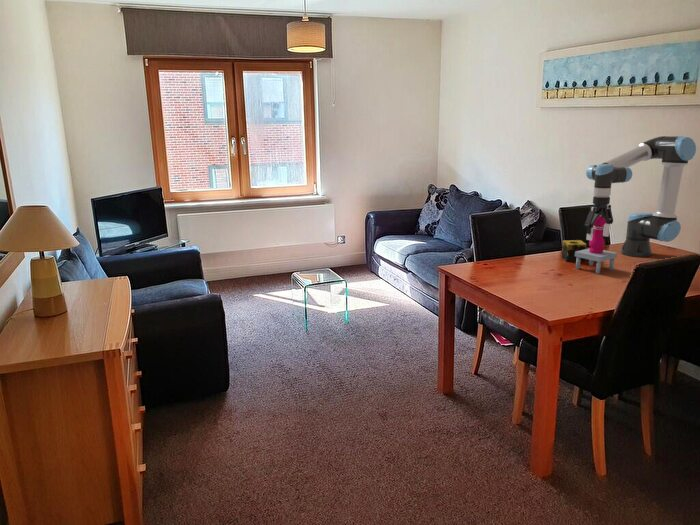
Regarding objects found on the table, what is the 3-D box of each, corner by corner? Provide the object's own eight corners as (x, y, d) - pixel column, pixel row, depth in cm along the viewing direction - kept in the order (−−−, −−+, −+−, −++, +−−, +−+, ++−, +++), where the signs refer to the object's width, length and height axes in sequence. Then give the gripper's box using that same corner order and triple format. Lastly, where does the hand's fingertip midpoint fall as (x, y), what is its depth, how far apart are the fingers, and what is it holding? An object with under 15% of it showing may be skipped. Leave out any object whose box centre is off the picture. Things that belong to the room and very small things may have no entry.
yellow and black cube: (579, 257, 287) (581, 240, 285) (585, 262, 278) (587, 244, 275) (560, 257, 288) (562, 240, 286) (566, 262, 279) (567, 244, 276)
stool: (590, 264, 273) (591, 247, 271) (615, 270, 262) (617, 252, 260) (573, 268, 266) (575, 251, 264) (598, 274, 255) (600, 257, 253)
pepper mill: (602, 254, 257) (606, 214, 252) (587, 253, 261) (590, 214, 256) (604, 251, 263) (608, 212, 258) (589, 250, 267) (592, 211, 262)
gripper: (609, 193, 264) (605, 233, 269) (579, 197, 251) (575, 240, 257) (623, 194, 257) (619, 236, 263) (593, 199, 245) (588, 243, 251)
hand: (597, 238), depth 260 cm, fingers open, 13 cm apart
